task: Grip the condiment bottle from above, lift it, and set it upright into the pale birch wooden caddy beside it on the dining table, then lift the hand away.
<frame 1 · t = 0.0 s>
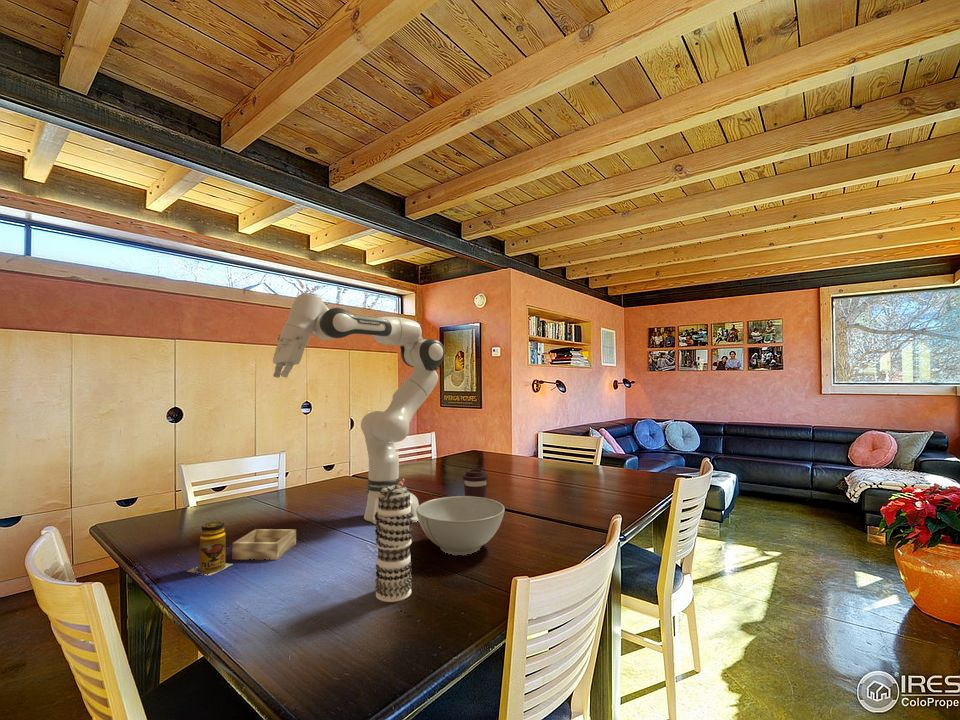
hand: (279, 377, 144), 52 cm above the table, tool tilted 20°, fingers open, 8 cm apart
condiment: (210, 569, 120), on the table
decorative bowl: (460, 548, 134), on the table
decorative candle: (393, 594, 105), on the table
coffee cup: (475, 509, 174), on the table
caddy: (265, 551, 131), on the table
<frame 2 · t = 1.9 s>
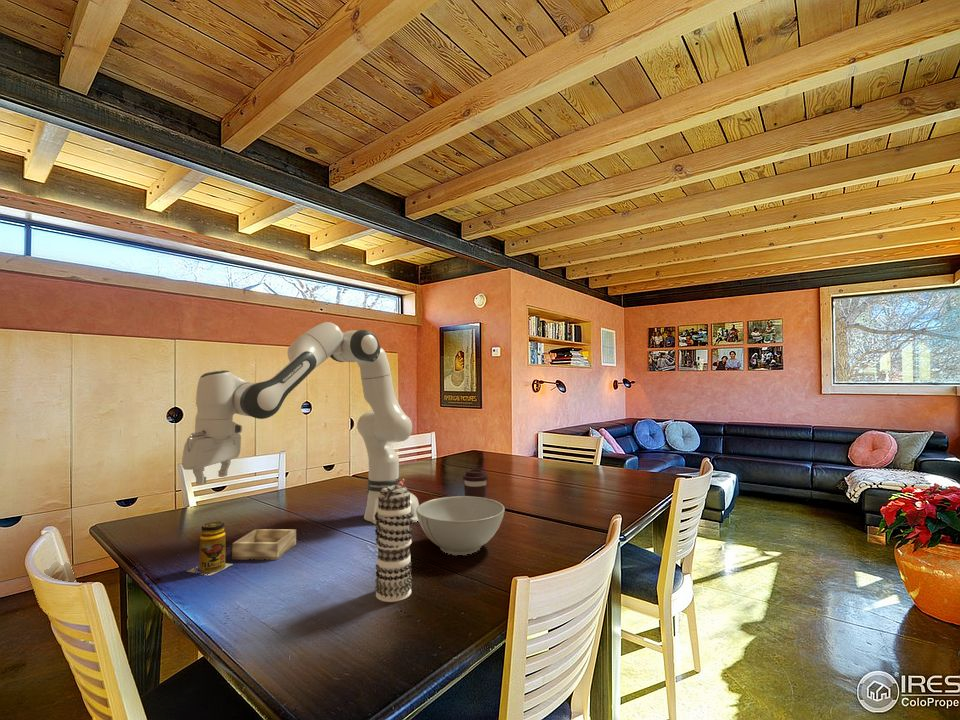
hand: (212, 480, 121), 24 cm above the table, tool pointing down, fingers open, 8 cm apart
nothing on the table moved.
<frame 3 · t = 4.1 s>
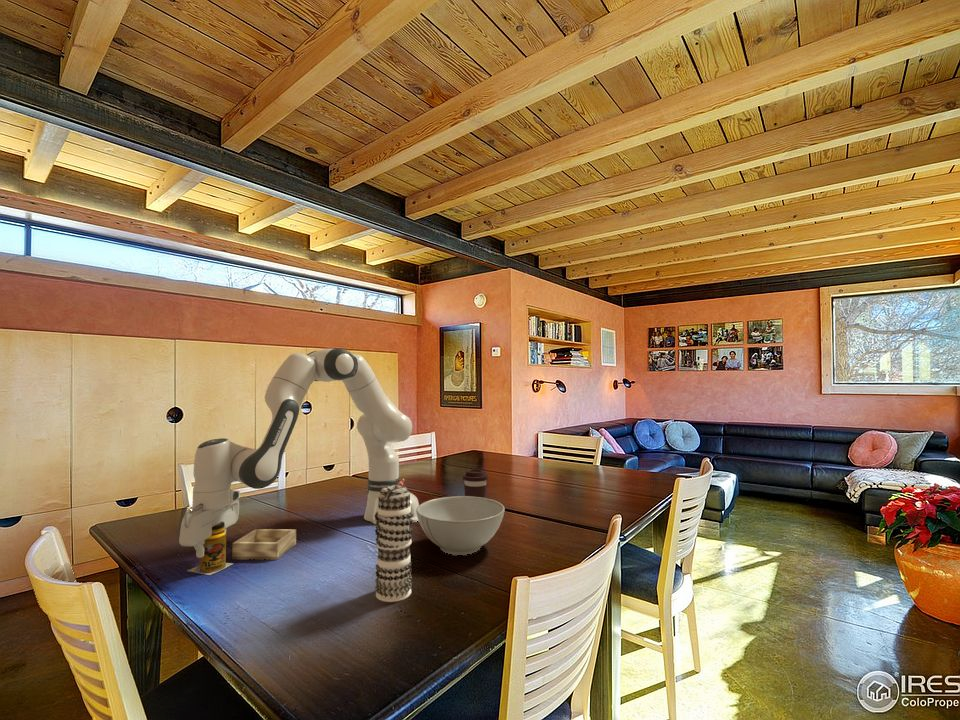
hand: (210, 551, 120), 5 cm above the table, tool pointing down, fingers closed on condiment, 6 cm apart
condiment: (210, 568, 120), on the table, touching gripper
everything else where it was.
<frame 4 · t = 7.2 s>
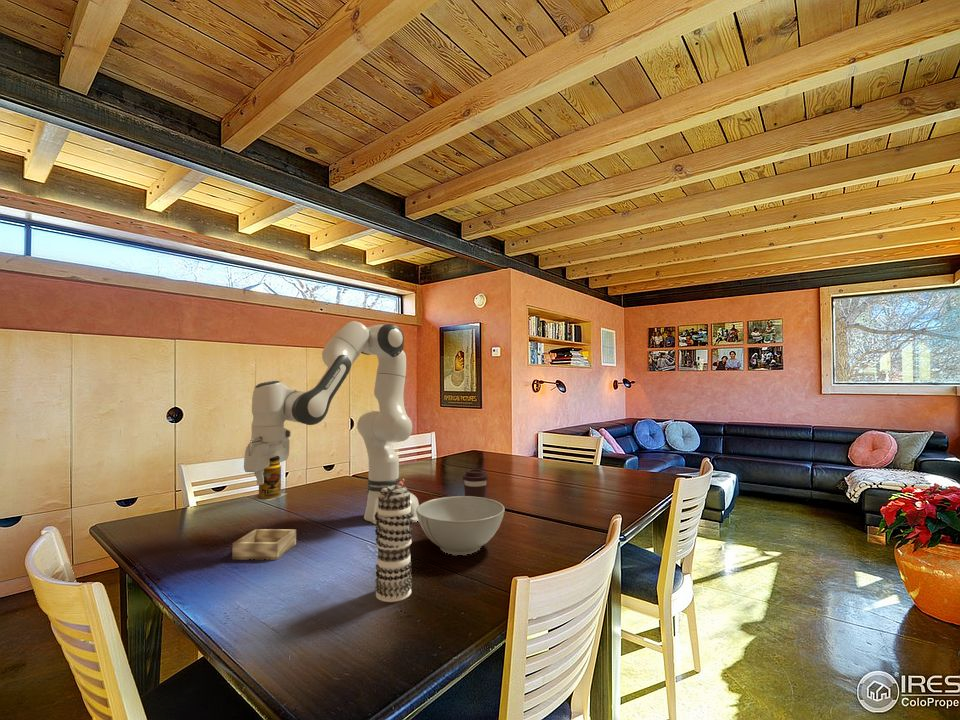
hand: (267, 481, 132), 21 cm above the table, tool pointing down, fingers closed on condiment, 6 cm apart
condiment: (267, 497, 133), point 16 cm above the table, touching gripper
everything else where it was.
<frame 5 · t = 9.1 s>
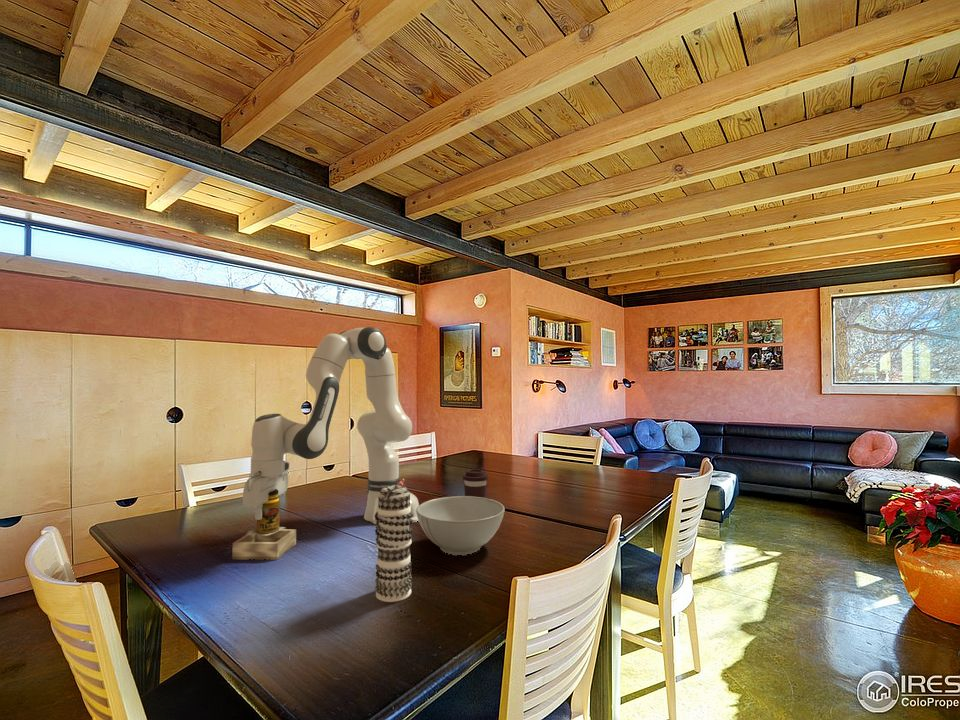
hand: (265, 515, 132), 11 cm above the table, tool pointing down, fingers closed on condiment, 6 cm apart
condiment: (265, 531, 132), point 6 cm above the table, touching gripper
everything else where it was.
when the fingers open (6 cm above the table, at t = 10.5 s): condiment stays where it is, resting on caddy.
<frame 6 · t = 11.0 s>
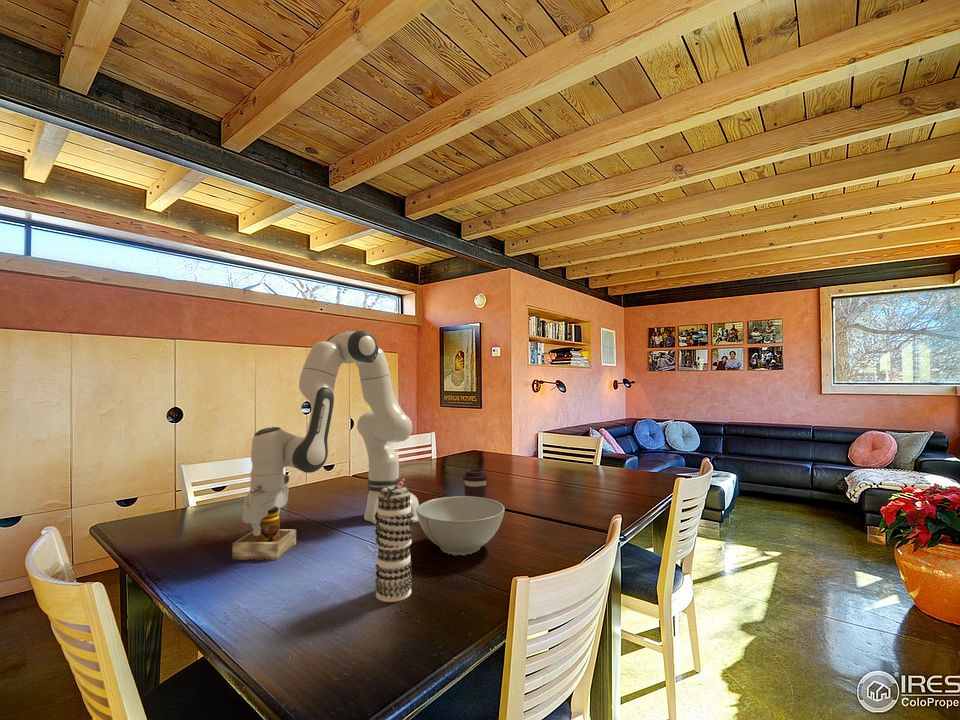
hand: (266, 529, 132), 6 cm above the table, tool pointing down, fingers open, 8 cm apart
condiment: (266, 549, 132), point 1 cm above the table, touching caddy
everything else where it was.
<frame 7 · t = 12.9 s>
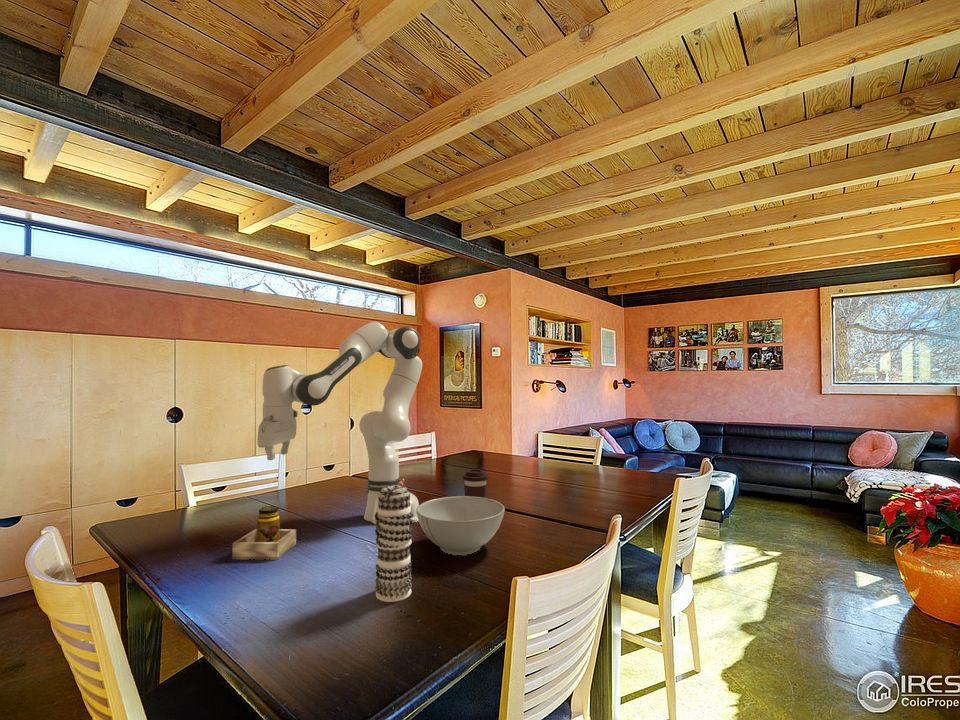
hand: (277, 456, 145), 26 cm above the table, tool pointing down, fingers open, 8 cm apart
nothing on the table moved.
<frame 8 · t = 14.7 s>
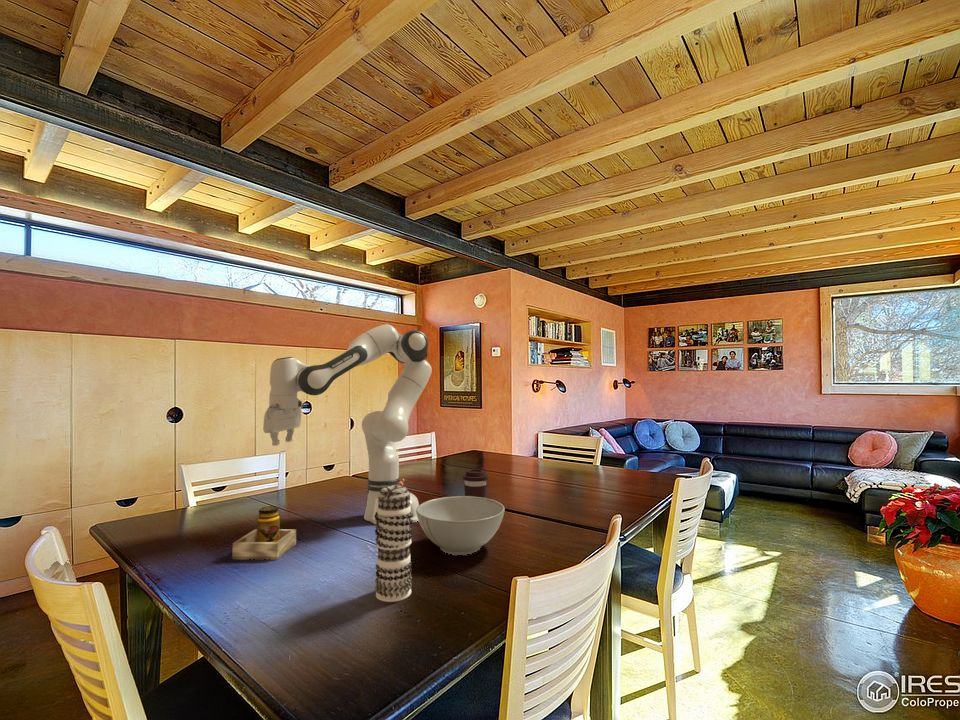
hand: (282, 443, 153), 29 cm above the table, tool pointing down, fingers open, 8 cm apart
nothing on the table moved.
at the end: condiment 0.2 cm off-centre on the caddy, point 0.6 cm above the caddy's base; condiment tilted 0°; the gripper is holding nothing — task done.
